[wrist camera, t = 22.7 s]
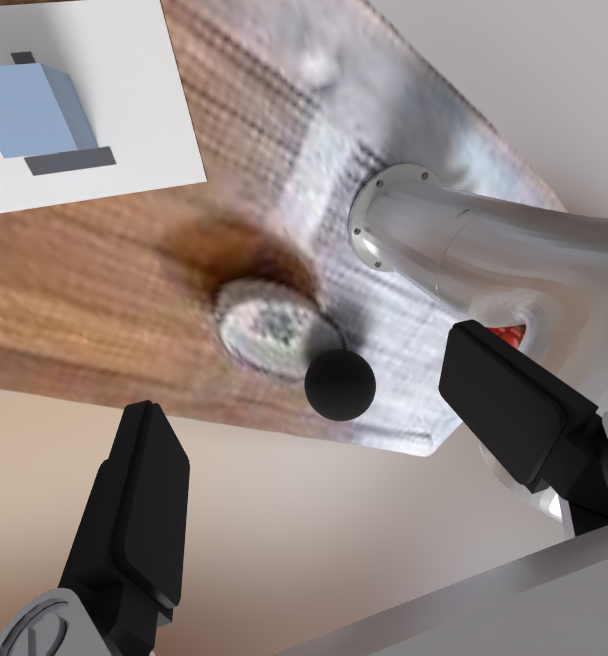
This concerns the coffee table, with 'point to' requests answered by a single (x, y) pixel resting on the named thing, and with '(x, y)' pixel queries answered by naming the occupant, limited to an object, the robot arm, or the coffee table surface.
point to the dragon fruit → (511, 334)
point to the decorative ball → (340, 385)
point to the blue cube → (40, 112)
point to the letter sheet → (102, 101)
